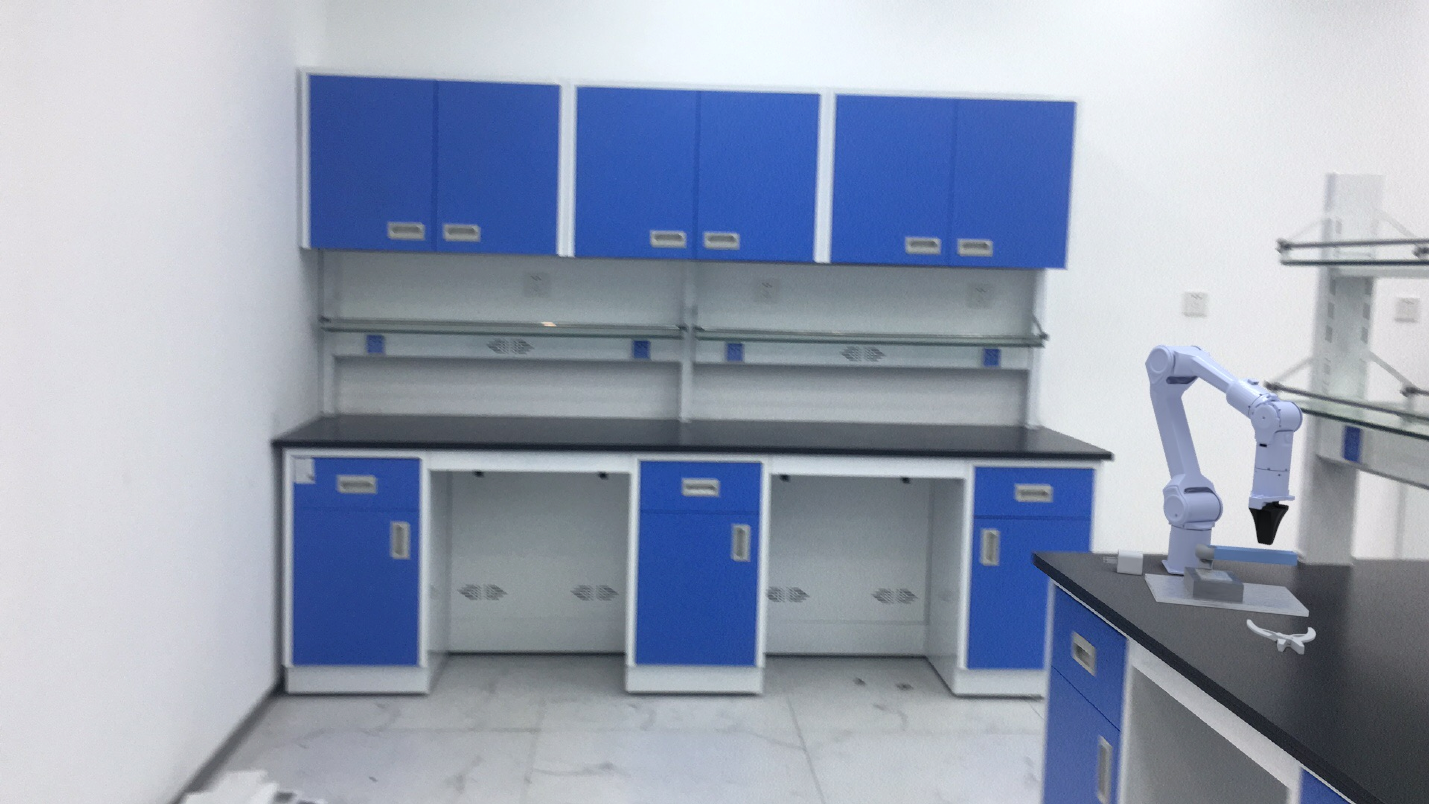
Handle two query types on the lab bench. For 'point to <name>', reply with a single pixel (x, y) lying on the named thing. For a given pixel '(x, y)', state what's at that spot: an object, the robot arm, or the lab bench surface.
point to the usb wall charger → (1127, 562)
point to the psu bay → (1249, 597)
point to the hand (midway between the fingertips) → (1265, 543)
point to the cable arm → (1246, 554)
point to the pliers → (1285, 638)
